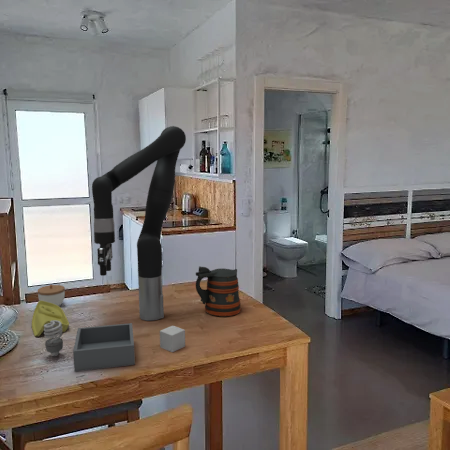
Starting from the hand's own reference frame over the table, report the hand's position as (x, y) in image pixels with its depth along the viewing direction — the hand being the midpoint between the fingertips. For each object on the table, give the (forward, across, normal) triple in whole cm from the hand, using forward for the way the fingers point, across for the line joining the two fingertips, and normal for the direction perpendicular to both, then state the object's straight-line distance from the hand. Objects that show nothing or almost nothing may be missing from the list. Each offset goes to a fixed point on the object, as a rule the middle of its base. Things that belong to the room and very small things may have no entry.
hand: (105, 273), depth 171 cm
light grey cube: (+22, -21, -26) cm, 40 cm away
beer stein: (+19, +11, -43) cm, 48 cm away
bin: (+22, -26, -5) cm, 34 cm away
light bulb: (+22, -26, +12) cm, 36 cm away
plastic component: (+20, 0, +21) cm, 29 cm away
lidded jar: (+18, +21, +28) cm, 39 cm away
